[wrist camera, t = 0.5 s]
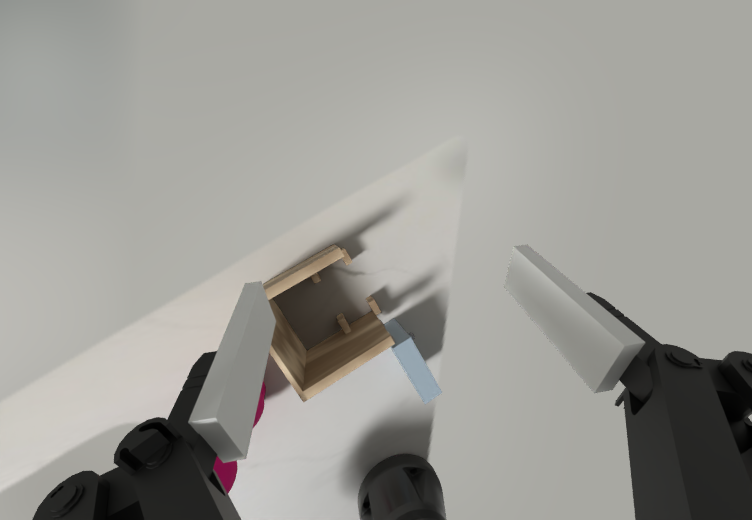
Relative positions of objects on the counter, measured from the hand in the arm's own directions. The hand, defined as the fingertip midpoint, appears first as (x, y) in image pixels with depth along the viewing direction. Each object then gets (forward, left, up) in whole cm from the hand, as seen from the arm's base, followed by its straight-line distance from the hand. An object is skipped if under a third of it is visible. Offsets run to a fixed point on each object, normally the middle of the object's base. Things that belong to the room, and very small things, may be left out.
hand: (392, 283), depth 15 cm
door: (-19, 0, -31) cm, 36 cm away
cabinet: (-5, +7, -31) cm, 32 cm away
